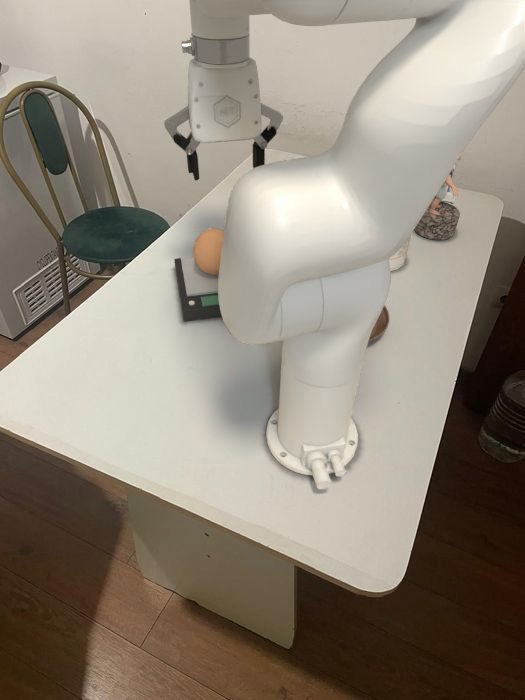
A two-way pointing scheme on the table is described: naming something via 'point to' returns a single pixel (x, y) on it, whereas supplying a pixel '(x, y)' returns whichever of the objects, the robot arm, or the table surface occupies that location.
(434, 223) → the figurine
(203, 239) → the egg
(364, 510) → the table surface
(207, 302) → the scale
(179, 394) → the table surface
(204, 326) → the table surface
